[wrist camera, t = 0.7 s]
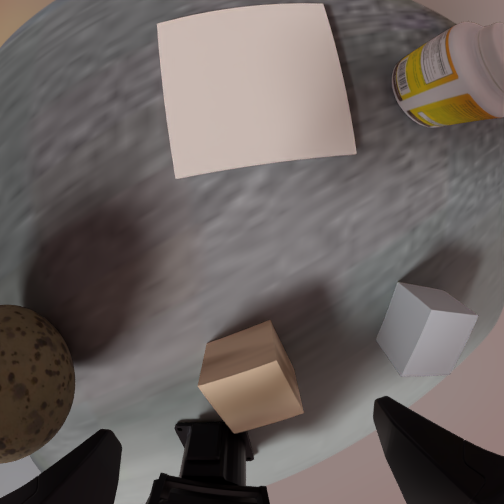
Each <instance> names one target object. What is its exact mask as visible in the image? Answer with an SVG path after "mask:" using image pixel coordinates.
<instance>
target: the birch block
mask: <svg viewBox="0 0 504 504" xmlns="http://www.w3.org/2000/svg"><path fill="white" fill-rule="evenodd" d="M198 387H199V389H200V390H201V391H202V393H203V394H204V395H205V397H206V398H207V400H208V401H209V402H210V404H211V405H212V406H213V408H214V409H215V410H216V411H217V413H218V414H219V415H220V417H221V418H222V419H223V420H224V422H225V423H226V424H227V425H228V427H229V428H230V429H231V430H232V432H233V433H234V434H235V433H239V432H243V431H247V430H251V429H254V428H258V427H262V426H265V425H268V424H272V423H275V422H278V421H282V420H285V419H288V418H291V417H294V416H297V415H300V414H303V413H304V411H303V406H302V402H301V397H300V393H299V388H298V384H297V380H296V375H295V371H294V368H293V366H292V364H291V362H290V360H289V358H288V356H287V354H286V352H285V349H284V347H283V345H282V343H281V341H280V339H279V337H278V335H277V333H276V331H275V329H274V327H273V324H272V322H271V320H268V321H266V322H263V323H261V324H258V325H255V326H253V327H250V328H248V329H245V330H242V331H240V332H237V333H234V334H232V335H229V336H226V337H223V338H221V339H218V340H215V341H212V342H209V343H207V345H206V350H205V354H204V359H203V364H202V368H201V373H200V378H199V382H198Z"/></svg>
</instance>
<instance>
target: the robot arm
mask: <svg viewBox="0 0 504 504" xmlns="http://www.w3.org/2000/svg"><path fill="white" fill-rule="evenodd" d="M373 420H374V423H375V426H376V429H377V433H378V436H379V439H380V442H381V445H382V448H383V451H384V454H385V457H386V460H387V462H388V464H389V466H390V468H391V471H392V472H393V475H394V477H395V479H396V481H397V483H398V486H399V487H400V490H401V492H402V494H403V497H404V499H405V501H406V503H407V504H504V456H501V455H498V454H495V453H493V452H490V451H487V450H485V449H483V448H481V447H478V446H476V445H474V444H472V443H470V442H468V441H466V440H464V439H463V438H461V437H458V436H457V435H455V434H453V433H451V432H450V431H448V430H446V429H444V428H442V427H440V426H438V425H437V424H435V423H433V422H431V421H430V420H428V419H426V418H424V417H423V416H421V415H419V414H417V413H416V412H414V411H412V410H410V409H409V408H407V407H405V406H404V405H402V404H400V403H398V402H397V401H395V400H393V399H392V398H390V397H388V396H384V397H381V398H378V399H376V400H375V402H374V412H373ZM175 431H176V433H177V435H178V437H179V439H180V440H181V442H182V444H183V446H184V448H185V449H184V454H183V459H182V465H181V470H180V475H179V477H175V476H170V475H167V474H165V473H161V474H160V477H159V479H157V480H154V482H153V486H152V490H151V493H150V496H149V498H148V500H147V502H146V504H270V502H269V497H268V493H267V487H266V486H259V487H253V486H246V461H252V460H254V454H253V451H252V447H251V444H250V440H249V437H248V433H247V431H243V432H239V433H235V434H234V433H233V432H232V430H231V429H230V428H229V427H228V425H227V424H226V423H225V422H207V423H177V424H176V425H175ZM121 453H122V446H121V443H120V442H119V440H118V439H117V437H116V436H115V434H114V433H113V432H112V431H111V430H109V429H100V430H99V431H97V432H96V433H95V434H94V435H92V436H91V437H90V438H88V439H87V440H86V441H84V442H83V443H82V444H80V445H79V446H78V447H76V448H75V449H74V450H72V451H71V452H70V453H68V454H67V455H66V456H64V457H63V458H62V459H60V460H59V461H58V462H56V463H55V464H54V465H52V466H51V467H49V468H48V469H47V470H45V471H44V472H42V473H41V474H40V475H39V476H37V477H35V478H34V479H33V480H31V481H30V482H28V483H27V484H25V485H24V486H22V487H20V488H19V489H17V490H15V491H13V492H11V493H9V494H7V495H6V496H4V497H2V498H0V504H114V500H115V495H116V491H117V486H118V480H119V471H120V462H121Z"/></svg>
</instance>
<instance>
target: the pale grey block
mask: <svg viewBox="0 0 504 504" xmlns="http://www.w3.org/2000/svg"><path fill="white" fill-rule="evenodd" d="M478 316H479V315H477V314H476V313H474V312H473V311H472V310H470V309H469V308H468V307H466V306H465V305H464V304H462V303H461V302H459V301H458V300H457V299H455V298H454V297H452V296H451V295H450V294H448V293H447V292H445V291H444V290H440V289H434V288H429V287H424V286H418V285H413V284H407V283H402V282H397V285H396V288H395V290H394V293H393V296H392V299H391V302H390V305H389V307H388V310H387V313H386V315H385V318H384V320H383V323H382V326H381V328H380V331H379V333H378V335H377V338H376V341H377V343H378V344H379V345H380V347H381V348H382V350H383V351H384V353H385V354H386V355H387V357H388V358H389V360H390V361H391V363H392V364H393V366H394V367H395V369H396V370H397V372H398V373H399V375H400V376H438V375H450V374H451V372H452V370H453V368H454V366H455V364H456V363H457V361H458V359H459V357H460V355H461V353H462V351H463V349H464V347H465V345H466V343H467V341H468V338H469V336H470V334H471V332H472V330H473V328H474V325H475V323H476V321H477V318H478Z"/></svg>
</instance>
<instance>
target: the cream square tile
mask: <svg viewBox="0 0 504 504" xmlns="http://www.w3.org/2000/svg"><path fill="white" fill-rule="evenodd" d="M157 30H158V43H159V54H160V65H161V75H162V84H163V93H164V101H165V109H166V117H167V125H168V132H169V139H170V146H171V152H172V159H173V165H174V171H175V177H176V179H181V178H186V177H191V176H196V175H201V174H206V173H212V172H218V171H223V170H229V169H236V168H242V167H248V166H255V165H262V164H269V163H277V162H284V161H293V160H301V159H311V158H320V157H331V156H343V155H354V154H357V152H356V145H355V138H354V132H353V126H352V120H351V114H350V109H349V104H348V99H347V94H346V89H345V84H344V79H343V75H342V71H341V66H340V62H339V58H338V54H337V50H336V46H335V42H334V39H333V35H332V32H331V28H330V25H329V21H328V18H327V15H326V11H325V8H324V5H323V4H312V3H296V4H271V5H257V6H247V7H238V8H231V9H224V10H217V11H212V12H206V13H201V14H196V15H191V16H186V17H182V18H178V19H174V20H170V21H166V22H162V23H159V24H157Z"/></svg>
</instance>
